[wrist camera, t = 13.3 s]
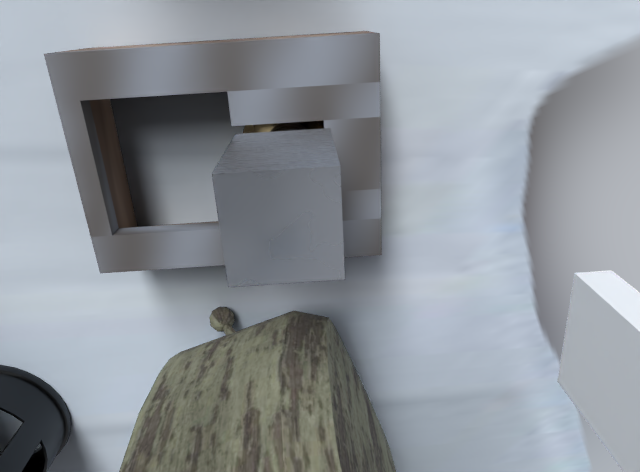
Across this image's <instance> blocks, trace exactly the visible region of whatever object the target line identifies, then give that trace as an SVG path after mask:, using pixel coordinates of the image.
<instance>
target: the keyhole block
mask: <svg viewBox="0 0 640 472" xmlns="http://www.w3.org/2000/svg"><path fill="white" fill-rule="evenodd" d="M44 56H45V60H46V64H47V68H48V72H49V76H50V80H51V84H52V87H53V91H54V95H55V99H56V103H57V107H58V111H59V115H60V119H61V122H62V126H63V130H64V134H65V138H66V142H67V146H68V150H69V154H70V158H71V161H72V165H73V169H74V173H75V177H76V181H77V185H78V189H79V193H80V197H81V200H82V204H83V208H84V212H85V216H86V220H87V224H88V228H89V232H90V235H91V239H92V243H93V247H94V251H95V255H96V259H97V263H98V267H99V271H100V273H112V272H127V271H142V270H158V269H173V268H189V267H204V266H219V265H225V261H224V254H223V247H222V241H221V234H220V227H219V221H218V222H203V223H187V224H172V225H156V226H140V227H137V222H136V218H135V213H134V208H133V204H132V199H131V194H130V190H129V185H128V180H127V176H126V171H125V166H124V162H123V157H122V152H121V148H120V143H119V139H118V134H117V129H116V125H115V120H114V115H113V111H112V106H111V101H110V99H115V98H131V97H147V96H163V95H179V94H195V93H211V92H227V94H228V102H229V110H230V118H231V126H242V125H258V124H274V123H290V122H306V121H322V120H323V126H324V128H330V129H331V132H332V136H333V140H334V144H335V148H336V151H337V155H338V159H339V163H340V170H341V194H342V219H343V243H344V257H358V256H373V255H382V253H381V140H380V33H374V32H369V31H361V32H344V33H328V34H312V35H295V36H279V37H263V38H247V39H230V40H214V41H198V42H181V43H165V44H149V45H132V46H116V47H100V48H86V49H78V50H70V51H63V52H55V53H47V54H44Z"/></svg>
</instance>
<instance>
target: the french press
mask: <svg viewBox="0 0 640 472" xmlns="http://www.w3.org/2000/svg"><path fill="white" fill-rule="evenodd" d="M0 410H2V411H4V412H7V413H9V414H11V415H13V416H14V417H15V418H17V419H18V420H20V421H21V422H23V423H22V425H21V426H20V428H19V429H18V430H17V432H16V433H15V435H14V436H13V438H12V439H11V441H10V442H9V443H8V445H7V446H6V448H5V449H4V451H3V452H2V454H0V472H47V470H48V468H49V467H50V465H51V463H52V461H53V460H54V458H55V456H57V455H58V454H59V453H60V452H61V450H62V449H63V448H64V446H65V445H66V443H67V440H68V438H69V436H70V430H71V420H70V414H69V412H68V409H67V407H66V404H65V403H64V401H63V400H62V398H61V397H60V396H59V394H58V393H57V392H56V391H55V390H54V389H53V388H52V387H51V386H49V385H48V384H47V383H45V382H44V381H42V380H41V379H40V378H38V377H36V376H34V375H32V374H30V373H28V372H26V371H23V370H20V369H17V368H14V367H9V366H3V365H0ZM39 443H40V444H41V447H40V448H39V449H37V450H35V449H36V448H37V446H38V444H39Z"/></svg>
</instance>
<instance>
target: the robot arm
mask: <svg viewBox="0 0 640 472" xmlns="http://www.w3.org/2000/svg"><path fill="white" fill-rule="evenodd" d="M557 382H558V383H559V384H560V386H561V387H562V388H563V390H564V391H565V393H566V394H567V395H568V397H569V398H570V399H571V401H572V402H573V404H574V405H575V406H576V408H577V409H578V410H579V412H580V413H581V415H582V416H583V417H584V419H585V420H586V421H587V423H588V424H589V426H590V427H591V428H592V430H593V431H594V432H595V434H596V435H597V436H598V438H599V439H600V440H601V442H602V444H603V445H604V446H605V448H606V449H607V450H608V452H609V453H610V454H611V456H612V457H613V459H614V460H615V461H616V463H617V464H618V466H619V467H620V468H621V470H622V471H623V472H640V292H638V291H637V290H636V289H635V288H633V287H632V286H631V285H629V284H628V283H627V282H625V281H624V280H623V279H622V278H621V277H619V276H618V275H617V274H615V273H614V272H613V271H596V272H582V273H575V274H574V280H573V286H572V293H571V299H570V306H569V312H568V319H567V324H566V331H565V337H564V343H563V350H562V356H561V362H560V368H559V375H558V381H557Z"/></svg>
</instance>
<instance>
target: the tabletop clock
mask: <svg viewBox="0 0 640 472" xmlns="http://www.w3.org/2000/svg"><path fill="white" fill-rule="evenodd" d="M234 321H235V320H234V314H233V312H232V311H231V310H229V309H228V308H227V307H218V308H217V309H215V310H213V311H212V313H211V315H210V323H211V326H212V327H213V328H214V329H215V330H217V331H224V332H225V334H226V336H223V337H221V338H218V339H215V340H212V341H210V342H207V343H204V344H201V345H199V346H196V347H193V348H190V349H188V350H185V351H182V352H180V353H178V354H177V355H175V356H174V357H172V358H170V359H169V361H168V362H167V363H166V365H165V366H164V367H163V369H162V370H161V372H160V373H159V375H158V377H157V379H156V381H155V383H154V385H153V387H152V389H151V391H150V393H149V395H148V396H147V398H146V400H145V402H144V404H143V406H142V408H141V410H140V412H139V415H138V418H137V421H136V424H135V427H134V430H133V433H132V435H131V438H130V441H129V444H128V447H127V450H126V453H125V456H124V459H123V462H122V465H121V468H120V471H119V472H396V470H395V466H394V463H393V459H392V455H391V452H390V448H389V446H388V443H387V440H386V438H385V435H384V433H383V430H382V428H381V425H380V423H379V421H378V418H377V416H376V414H375V412H374V409H373V407H372V405H371V403H370V400H369V398H368V396H367V394H366V391H365V389H364V387H363V385H362V382H361V380H360V378H359V376H358V374H357V372H356V370H355V368H354V365H353V363H352V361H351V359H350V357H349V355H348V353H347V351H346V349H345V347H344V344H343V342H342V340H341V338H340V336H339V334H338V332H337V330H336V329H335V327H334V325H333V323H332V322H331V320H330V319H329V318H328V317H323V316H318V315H313V314H308V313H303V312H298V311H292V312H289V313H286V314H284V315H281V316H278V317H275V318H273V319H270V320H267V321H264V322H262V323H259V324H256V325H253V326H251V327H248V328H245V329H242V330H240V331H237V332H236V331H235V330H234V329H233V328H232V325H233V323H234Z"/></svg>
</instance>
